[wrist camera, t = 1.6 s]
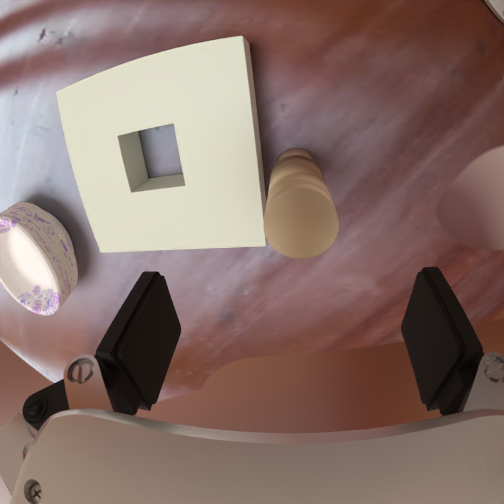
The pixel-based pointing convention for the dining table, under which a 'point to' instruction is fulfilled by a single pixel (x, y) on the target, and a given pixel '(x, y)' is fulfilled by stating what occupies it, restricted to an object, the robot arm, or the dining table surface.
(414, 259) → the dining table surface
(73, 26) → the dining table surface
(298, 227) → the peg
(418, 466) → the robot arm
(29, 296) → the paper bowls
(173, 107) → the board
